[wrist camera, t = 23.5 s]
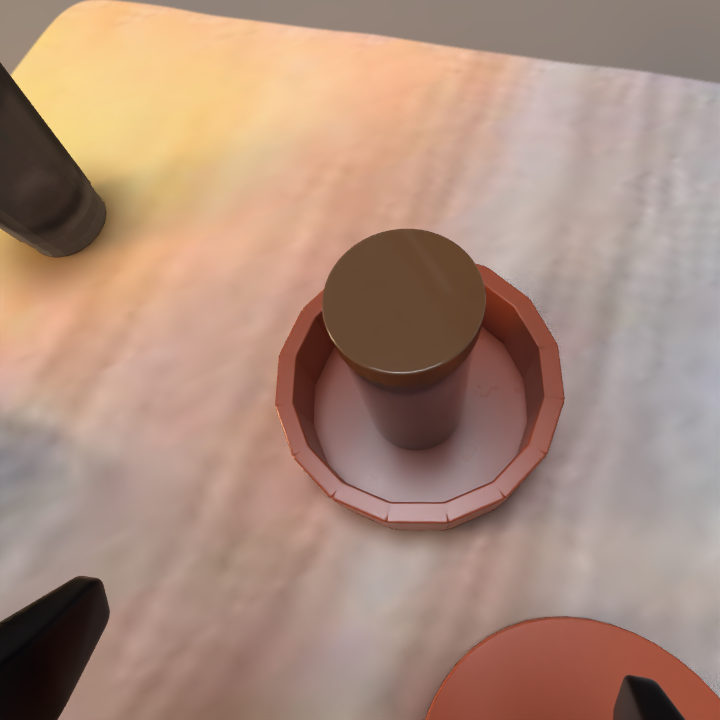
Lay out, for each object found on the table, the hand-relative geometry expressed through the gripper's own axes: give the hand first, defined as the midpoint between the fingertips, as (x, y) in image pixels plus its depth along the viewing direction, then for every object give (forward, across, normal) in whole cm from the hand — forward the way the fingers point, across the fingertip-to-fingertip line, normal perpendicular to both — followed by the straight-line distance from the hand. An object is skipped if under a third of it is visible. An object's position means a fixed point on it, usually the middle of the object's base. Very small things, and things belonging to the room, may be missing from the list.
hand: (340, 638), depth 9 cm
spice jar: (+14, 0, +3) cm, 14 cm away
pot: (+14, 0, +3) cm, 15 cm away
